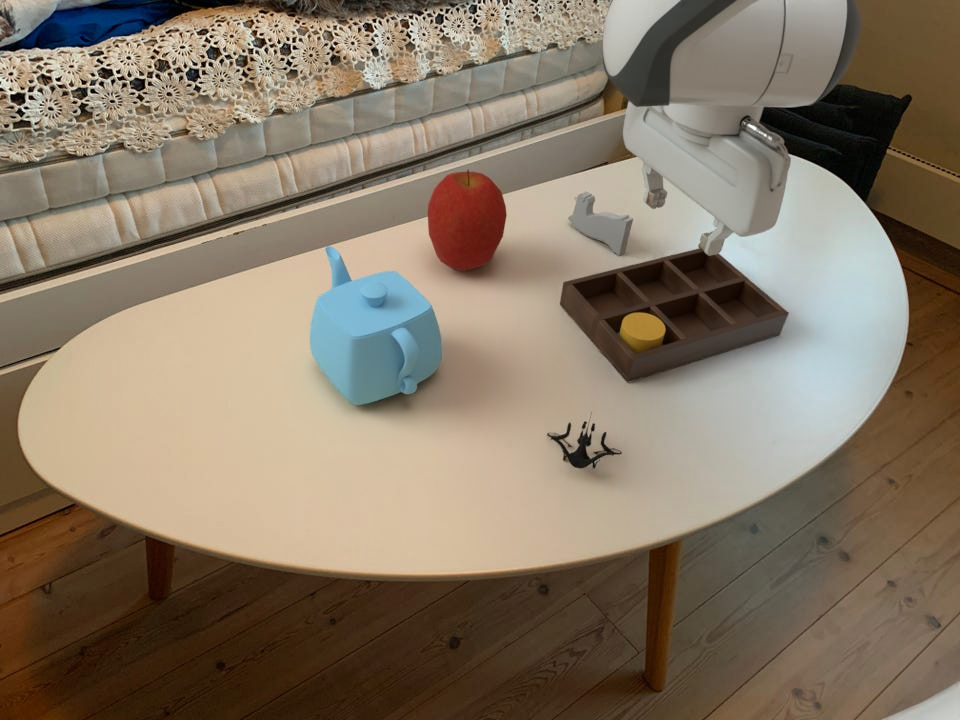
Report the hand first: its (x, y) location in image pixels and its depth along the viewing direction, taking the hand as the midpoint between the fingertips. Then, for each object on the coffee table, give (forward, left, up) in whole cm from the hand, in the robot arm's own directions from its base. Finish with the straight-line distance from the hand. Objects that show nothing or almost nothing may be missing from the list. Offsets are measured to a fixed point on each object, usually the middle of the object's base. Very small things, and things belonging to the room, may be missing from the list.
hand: (680, 227), depth 80 cm
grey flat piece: (+23, -8, -18) cm, 30 cm away
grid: (+4, -7, -18) cm, 19 cm away
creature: (-10, +15, -18) cm, 26 cm away
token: (+1, +1, -17) cm, 17 cm away
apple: (+24, +12, -18) cm, 33 cm away
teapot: (+10, +30, -18) cm, 37 cm away
